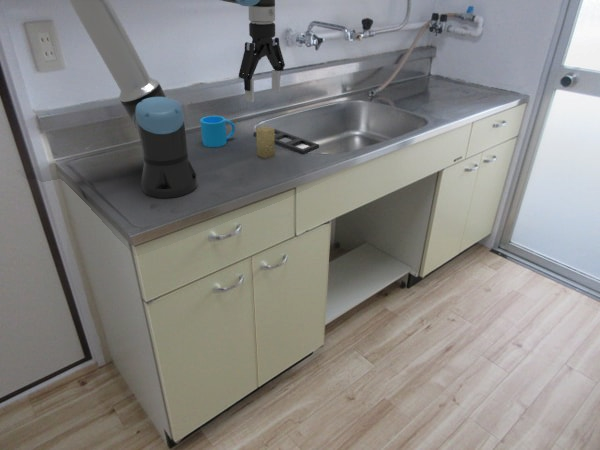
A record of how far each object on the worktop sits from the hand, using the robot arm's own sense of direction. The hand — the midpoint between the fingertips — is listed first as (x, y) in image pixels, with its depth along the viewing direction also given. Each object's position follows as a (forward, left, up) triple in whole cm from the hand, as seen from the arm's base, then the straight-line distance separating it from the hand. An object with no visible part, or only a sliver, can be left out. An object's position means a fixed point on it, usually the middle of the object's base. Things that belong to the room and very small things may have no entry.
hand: (263, 96), depth 142 cm
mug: (-5, +17, -18) cm, 25 cm away
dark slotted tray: (+11, +1, -18) cm, 21 cm away
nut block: (-2, -3, -18) cm, 18 cm away
